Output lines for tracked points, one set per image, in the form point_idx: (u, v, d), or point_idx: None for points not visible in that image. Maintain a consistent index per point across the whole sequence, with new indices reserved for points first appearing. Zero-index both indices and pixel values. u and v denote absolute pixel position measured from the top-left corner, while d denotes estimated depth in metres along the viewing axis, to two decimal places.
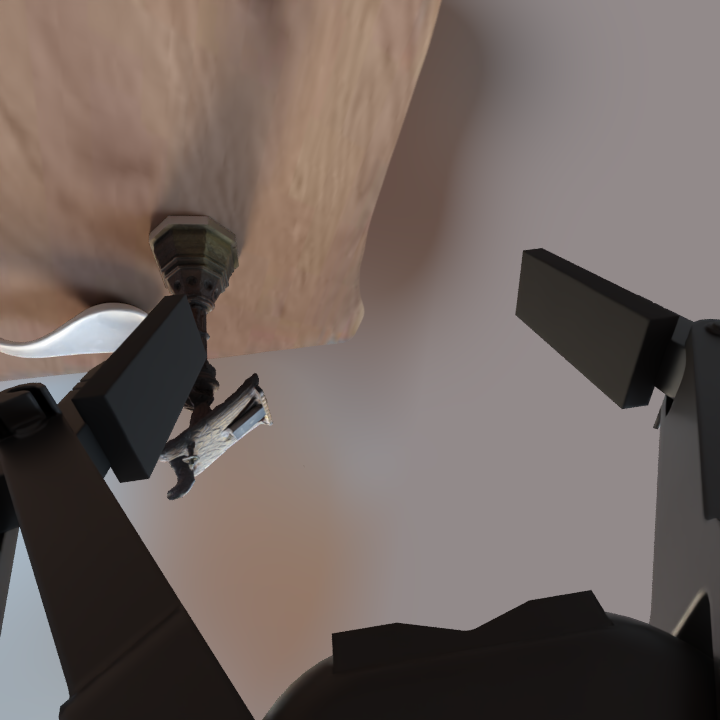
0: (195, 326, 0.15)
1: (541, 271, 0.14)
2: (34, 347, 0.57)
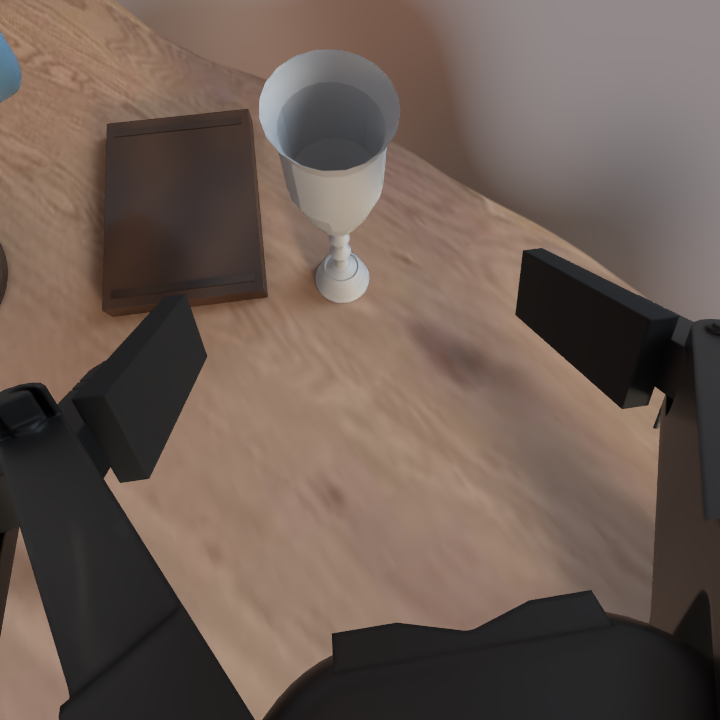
0: (195, 325, 0.15)
1: (541, 271, 0.14)
2: None
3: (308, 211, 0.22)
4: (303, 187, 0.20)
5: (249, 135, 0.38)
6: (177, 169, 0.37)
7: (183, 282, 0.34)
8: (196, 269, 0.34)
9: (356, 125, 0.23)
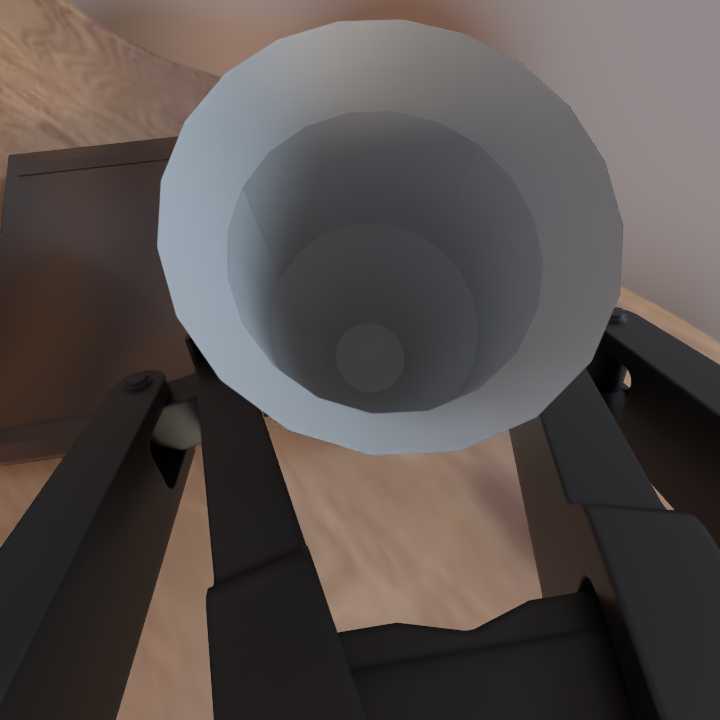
0: None
1: None
2: None
3: None
4: None
5: None
6: (110, 226, 0.24)
7: None
8: None
9: (426, 205, 0.10)
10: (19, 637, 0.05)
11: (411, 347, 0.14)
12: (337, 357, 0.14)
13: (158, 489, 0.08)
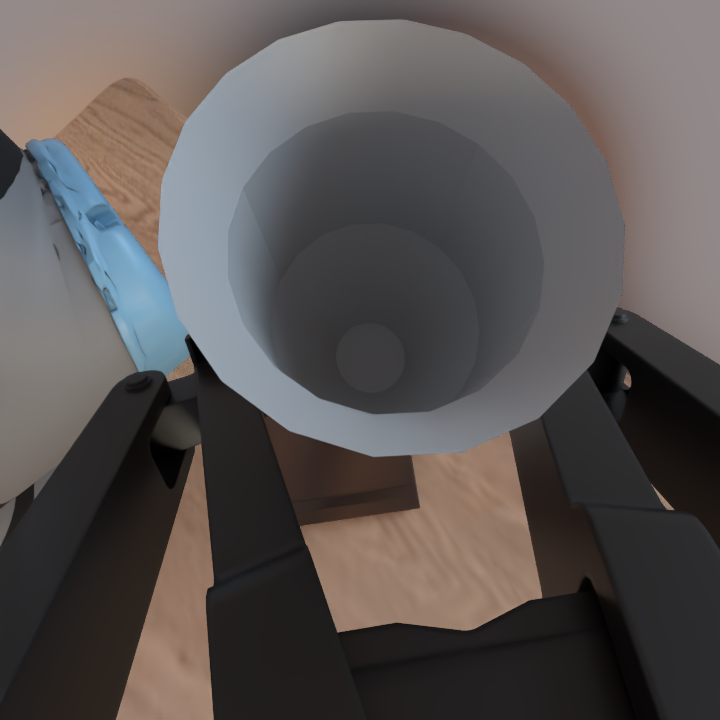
0: None
1: None
2: None
3: None
4: None
5: None
6: None
7: (331, 498, 0.31)
8: (344, 482, 0.32)
9: (427, 205, 0.10)
10: (19, 637, 0.05)
11: (412, 347, 0.14)
12: (337, 357, 0.14)
13: (158, 489, 0.08)
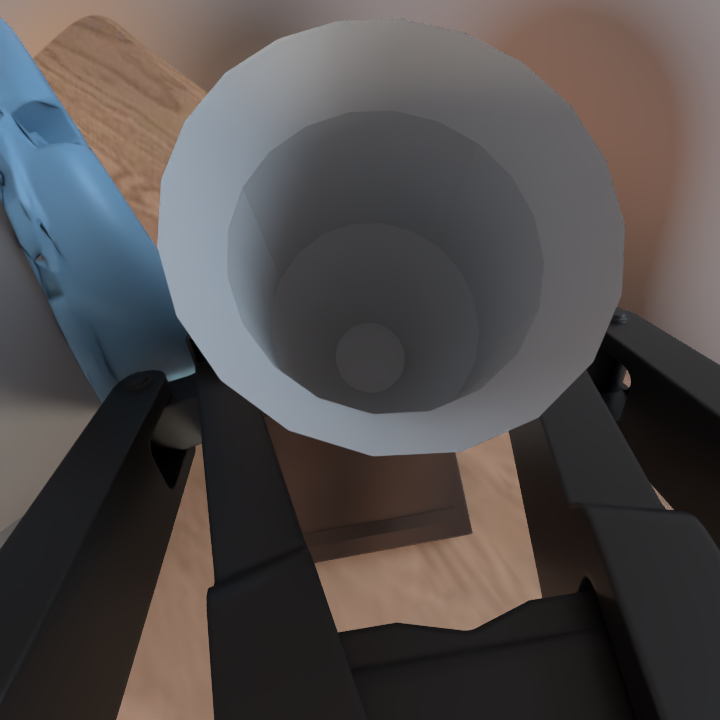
0: None
1: None
2: None
3: None
4: None
5: None
6: None
7: (363, 525, 0.25)
8: (378, 504, 0.26)
9: (427, 205, 0.10)
10: (20, 636, 0.05)
11: (412, 347, 0.14)
12: (337, 357, 0.14)
13: (159, 489, 0.08)
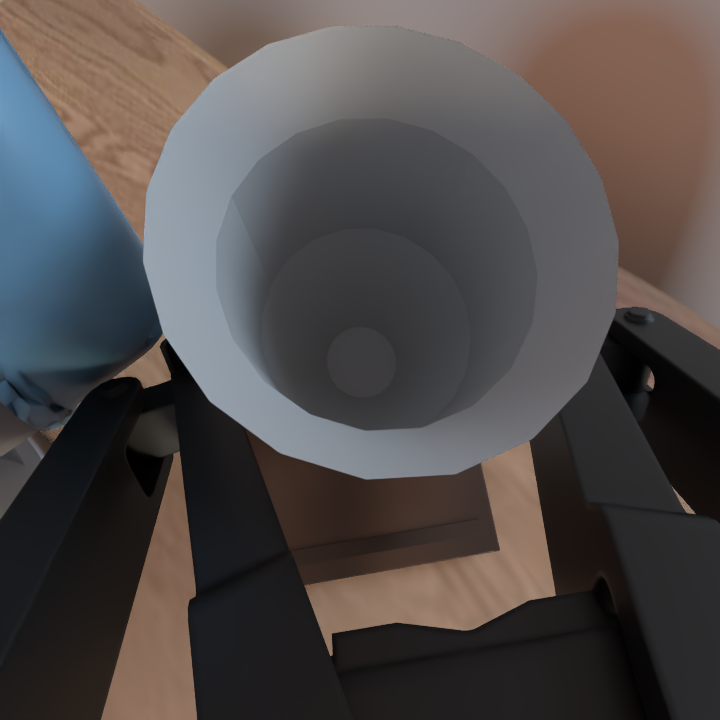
0: None
1: None
2: None
3: None
4: None
5: None
6: None
7: (369, 539, 0.21)
8: (388, 514, 0.22)
9: (419, 212, 0.10)
10: None
11: (403, 352, 0.14)
12: (328, 362, 0.14)
13: (136, 497, 0.08)
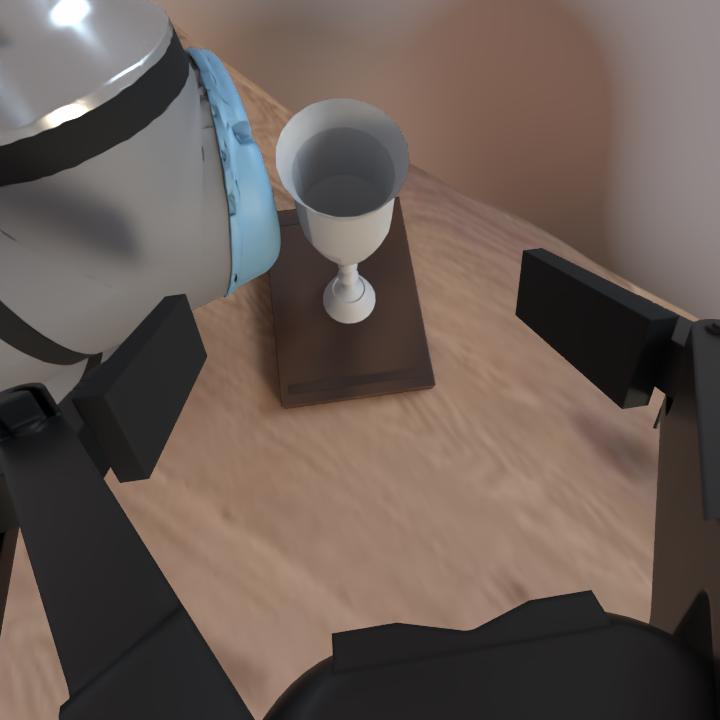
0: (195, 325, 0.15)
1: (541, 271, 0.14)
2: None
3: (320, 247, 0.23)
4: (316, 228, 0.21)
5: (403, 224, 0.39)
6: None
7: (356, 377, 0.35)
8: (367, 363, 0.35)
9: (366, 164, 0.24)
10: None
11: None
12: None
13: None
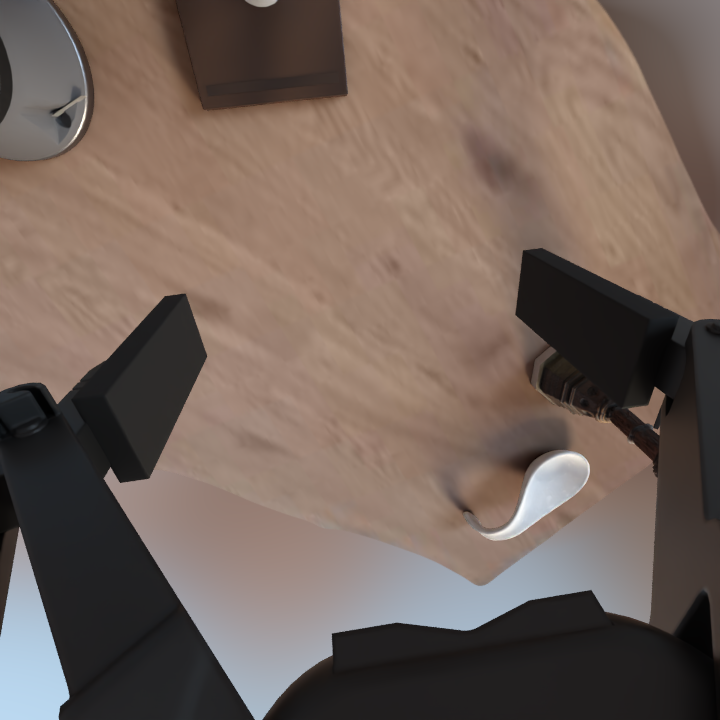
0: (195, 325, 0.15)
1: (541, 271, 0.14)
2: (514, 524, 0.66)
3: None
4: None
5: None
6: None
7: (272, 80, 0.37)
8: (282, 64, 0.36)
9: None
10: None
11: None
12: None
13: None
